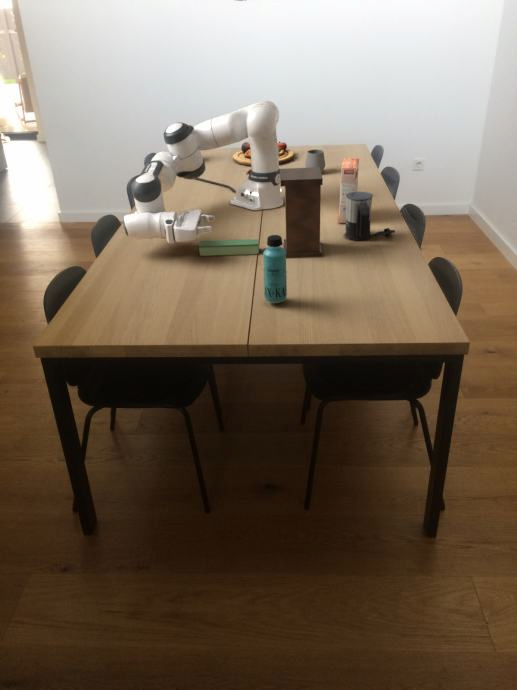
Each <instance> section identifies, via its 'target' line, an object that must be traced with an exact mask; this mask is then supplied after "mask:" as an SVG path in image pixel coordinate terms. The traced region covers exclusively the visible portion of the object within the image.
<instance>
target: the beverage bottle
mask: <svg viewBox="0 0 517 690" xmlns="http://www.w3.org/2000/svg"><path fill="white" fill-rule="evenodd" d="M266 245H267V246H268V247H266V248H265V250H264V251H263V270H262V271H263V288H264V299H265V301H267V302H268V303H272V304H279V303H282V302H284V301H286V300H287V297H288V296H287V295H288V290H287V289H288V288H287V285H288V284H287V283H288V282H287V281H288V279H287V273H288V271H287V258H286V251H285V250H284V247H282V246H283V237H282V236H281V235H279V234H272V235H269V236H267V241H266Z"/></svg>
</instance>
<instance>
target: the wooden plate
mask: <svg viewBox="0 0 517 690" xmlns="http://www.w3.org/2000/svg"><path fill="white" fill-rule="evenodd" d="M277 144H278V153H279V165H281V164H284V163H287V162H289V161H291V160H293V159H294V157H295V152H294V151H293V150H291V149H288V145H287V144H286V142H281V141H278V142H277ZM240 149H241V150H238V151H237V152H235V153H234V154H233V155H232V161H234V163H236V164H239V165H243V166H250V167H251V151H250V144H249V141H244V142H243V143H242V144H241V148H240Z"/></svg>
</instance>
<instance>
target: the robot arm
mask: <svg viewBox="0 0 517 690" xmlns="http://www.w3.org/2000/svg"><path fill="white" fill-rule="evenodd" d="M279 121H280V111H279V108H278V106H277V105H276V104H275V103H274V102H272V101H270V100H261V101H258V102H255V103H253V104H250V105H247V106H245V107H241V108H239V109H236V110H234V111H231V112H228V113H225V114H221V115H219V116H216V117H212V118H210V119H209V118H208V119H207V120H204V121H203V122H200V123H198V124H195V125H194V126H193V125H191V124H187V123H185V122H175V123H172V124H171V125H169V126H167V127H166V128H165V130H164V132H163V139H164V143H165V144H166V146H167V149H168V151H159V152H157V153H155V155H154V156H153V157H152V158H151V160H150V161H147V163H146V164H145V165H144V167H143V168H142V170H141V172H140V173H139V175H138V176H136V177H135V179H134V180H132V181H131V184H130V190H131V193H132V197H133V200H134V204H135V208H136V209H135V211H134V212H132V213H129V214H125V215H124V216H123V219H122V223H123V228H124V233H125V235H126V237H127V238H129V239H134V240H153V239H162V240H167V243H168V244H175V243H176V242H177V243H184V242H193V241H195V240H197V238H198V235H203V234H206V233H211V232H212V231H213V229H212V228H213V227H212V225H205V226H201V223H203V222H208V223H214V222H215V215H208V214H203V213H202V212H203V211H202V210H201V209H198V208H197V209H196V208H195V209H187V210H186V209H185V210H181V211H180V212H179V213H177V211H175V210H174V211H166V206H165V202H164V200H165V199H164V196H163V195H164V193H167V192H169V191H171V190H172V189H173V187H174V186H175V183H176V179H177V178H182V179H184V180H189V181H190V180H197V181H201V182H205V183H210V184H213V185H217V186H221V187H223V188H224V187H225V188H227V189H230V191H232V192H233V193H235V196H234V197H233V198H232V199H230V204H231V205H233V206H237V207H239V208H240V207H241V208H244V209H247V210H251V211H261V210H273V209H277V208H279V207H282V206H283V205H285V201H284V199H283V194H282V188H281V186H280V169H281V168H280V164H279V153H278V144H277V143H278V136H277V125H278V123H279ZM246 139H248V143H249V144H250V151H251V166H250V167H251V168H250V169H249V170H248V171H246V172H245V173H246V174H245V175H246V176H247V178H246V179H245V180H244V181H243V182H242V183H241V184H240V185H238V186H237V187H236V190H235V189H234V188H233V187H232V186H231V185H228V184H224V183H220V182H217V181H212V180H209V179H204V178H201V176H203V175H204V173H205V172H206V163H205V160H204V158H203V155H202V153H201V151H210V150H214V149H219V148H223V147H225V146H226V147H227V146H230V145H232V144H236V143H239V142H242V141H244V140H246Z"/></svg>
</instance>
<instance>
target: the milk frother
mask: <svg viewBox="0 0 517 690" xmlns="http://www.w3.org/2000/svg"><path fill="white" fill-rule="evenodd" d="M346 197H347V205H346V223H345V229H344V230H345V231H344V232H345V233H344V238H346V239H348V240H352V241H365V240H368V239H370V238H371V237H377V236H385V237H388V236H390V235H392V234H395V233H396V230H395V229H390V228H389V227H387V228H384V230H381V231H377V232H374V233H373V234H372V233H371V219H372V203H373V197H374V194H373V193H371V192H368V191H361V190H360V191H358V190H357V192H350V193H348V194H346Z"/></svg>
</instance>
